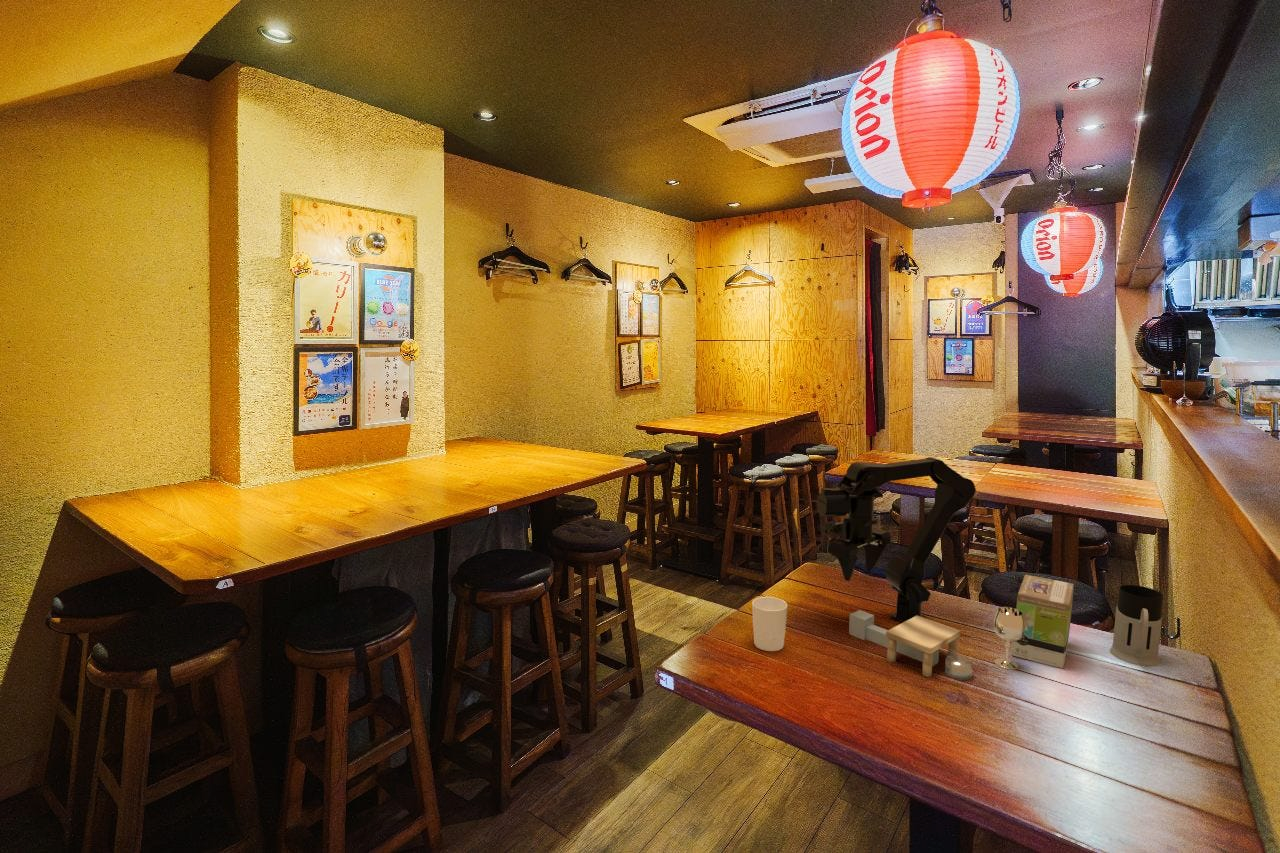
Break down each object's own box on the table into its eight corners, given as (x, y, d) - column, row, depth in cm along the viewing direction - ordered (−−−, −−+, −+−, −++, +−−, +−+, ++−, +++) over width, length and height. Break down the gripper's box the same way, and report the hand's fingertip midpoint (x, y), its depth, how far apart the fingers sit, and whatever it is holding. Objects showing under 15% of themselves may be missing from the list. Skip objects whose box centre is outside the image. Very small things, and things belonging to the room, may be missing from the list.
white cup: (784, 637, 148) (784, 597, 147) (788, 653, 140) (789, 611, 139) (750, 636, 149) (751, 596, 148) (752, 652, 141) (753, 610, 140)
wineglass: (991, 667, 134) (995, 613, 132) (990, 655, 139) (994, 603, 137) (1022, 673, 131) (1027, 619, 130) (1021, 661, 136) (1025, 608, 135)
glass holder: (1156, 652, 139) (1163, 588, 137) (1167, 682, 127) (1175, 612, 125) (1107, 643, 144) (1113, 580, 142) (1114, 670, 132) (1120, 603, 130)
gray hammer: (858, 629, 152) (859, 609, 151) (940, 661, 136) (941, 640, 136) (849, 634, 150) (849, 614, 149) (930, 667, 134) (932, 645, 133)
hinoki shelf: (915, 641, 145) (916, 615, 145) (959, 658, 138) (960, 630, 137) (884, 659, 137) (886, 631, 137) (929, 678, 130) (930, 648, 129)
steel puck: (952, 665, 135) (953, 652, 134) (975, 675, 131) (976, 662, 130) (940, 673, 132) (940, 659, 132) (963, 683, 128) (964, 669, 127)
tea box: (1065, 670, 132) (1070, 603, 130) (1010, 656, 138) (1015, 592, 136) (1069, 643, 144) (1074, 581, 142) (1018, 631, 150) (1023, 572, 148)
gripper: (853, 502, 164) (851, 559, 166) (809, 514, 153) (807, 575, 155) (893, 510, 155) (890, 571, 157) (849, 524, 144) (846, 589, 146)
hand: (858, 576), depth 154 cm, fingers open, 9 cm apart
